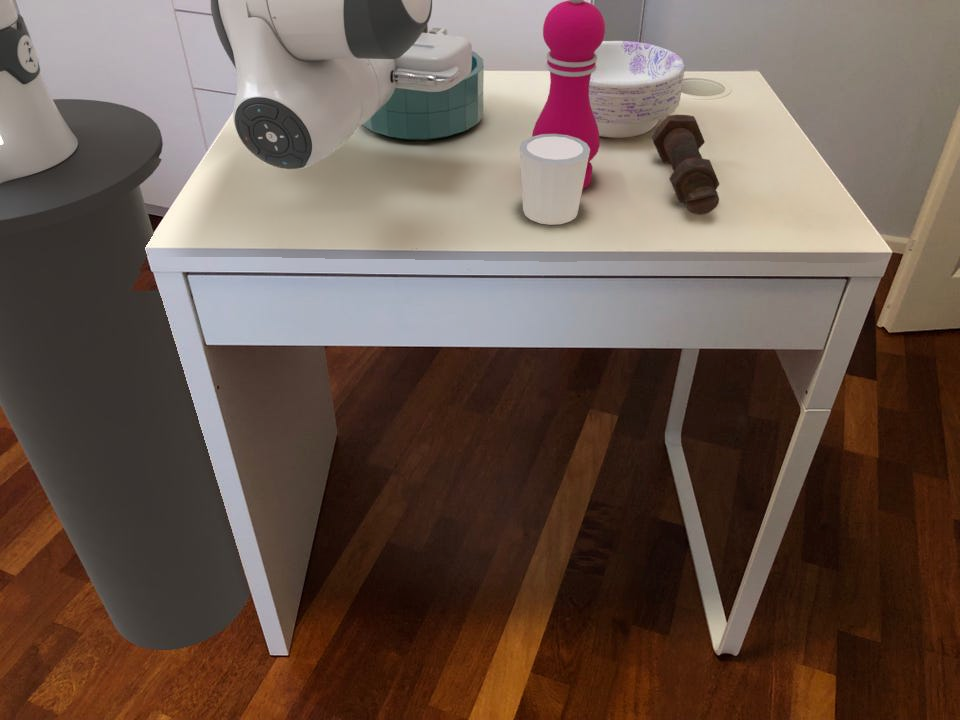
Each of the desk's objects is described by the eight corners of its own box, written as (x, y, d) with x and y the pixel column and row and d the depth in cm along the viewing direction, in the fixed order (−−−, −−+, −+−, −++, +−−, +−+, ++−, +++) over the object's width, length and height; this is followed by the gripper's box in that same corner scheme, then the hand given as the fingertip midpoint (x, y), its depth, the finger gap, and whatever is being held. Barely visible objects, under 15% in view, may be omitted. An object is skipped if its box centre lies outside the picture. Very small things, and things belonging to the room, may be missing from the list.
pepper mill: (592, 165, 90) (611, -26, 77) (598, 195, 84) (620, -5, 72) (528, 164, 90) (537, -27, 77) (530, 194, 84) (540, -6, 72)
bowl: (352, 145, 94) (346, 87, 89) (364, 95, 106) (359, 41, 101) (484, 144, 94) (485, 86, 90) (481, 95, 106) (481, 41, 102)
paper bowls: (526, 122, 99) (529, 58, 94) (604, 91, 107) (610, 30, 102) (623, 161, 91) (632, 93, 86) (699, 124, 99) (711, 60, 94)
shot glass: (507, 201, 83) (509, 137, 79) (567, 191, 85) (572, 128, 81) (532, 232, 78) (535, 166, 74) (595, 221, 80) (602, 156, 76)
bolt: (689, 235, 81) (664, 165, 93) (737, 215, 80) (706, 146, 91) (668, 191, 78) (646, 124, 89) (718, 168, 76) (689, 103, 88)
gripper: (448, 51, 74) (490, 10, 84) (253, 30, 79) (315, -7, 89) (449, 116, 78) (489, 69, 88) (264, 93, 83) (322, 51, 93)
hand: (401, 31), depth 89 cm, fingers open, 8 cm apart
